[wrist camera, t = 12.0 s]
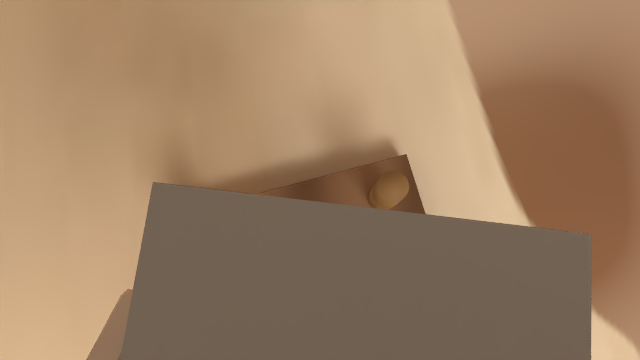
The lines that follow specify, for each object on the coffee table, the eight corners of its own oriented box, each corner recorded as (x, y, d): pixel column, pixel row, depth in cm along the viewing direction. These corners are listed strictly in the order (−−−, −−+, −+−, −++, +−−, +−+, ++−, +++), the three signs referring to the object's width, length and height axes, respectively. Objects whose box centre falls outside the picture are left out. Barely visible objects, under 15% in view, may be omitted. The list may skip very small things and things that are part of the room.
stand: (402, 159, 27) (421, 134, 22) (480, 406, 25) (519, 435, 20) (165, 222, 26) (134, 210, 21) (223, 485, 24) (202, 535, 19)
